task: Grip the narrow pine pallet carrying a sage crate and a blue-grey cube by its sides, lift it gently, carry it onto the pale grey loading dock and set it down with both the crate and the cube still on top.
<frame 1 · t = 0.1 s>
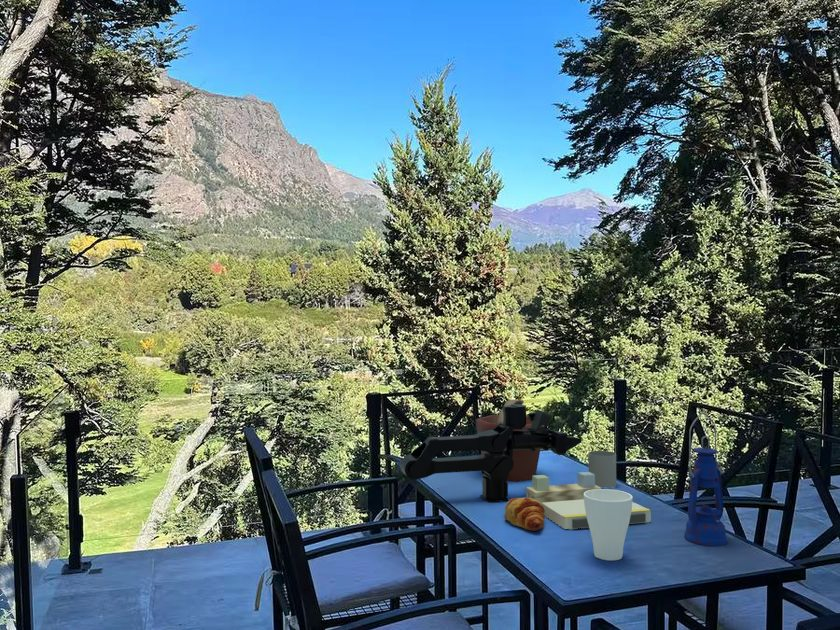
hand: (574, 437, 202), 17 cm above the table, tool horizontal, fingers open, 9 cm apart
dock: (594, 517, 177), on the table
cup: (602, 486, 211), on the table
croissant: (525, 523, 175), on the table
crate sage: (540, 489, 189), point 5 cm above the table
bucket: (513, 476, 224), on the table
lantern: (705, 540, 160), on the table
pallet: (563, 505, 190), on the table
cup 2: (608, 556, 149), on the table
blue-grey cube: (586, 485, 192), point 5 cm above the table
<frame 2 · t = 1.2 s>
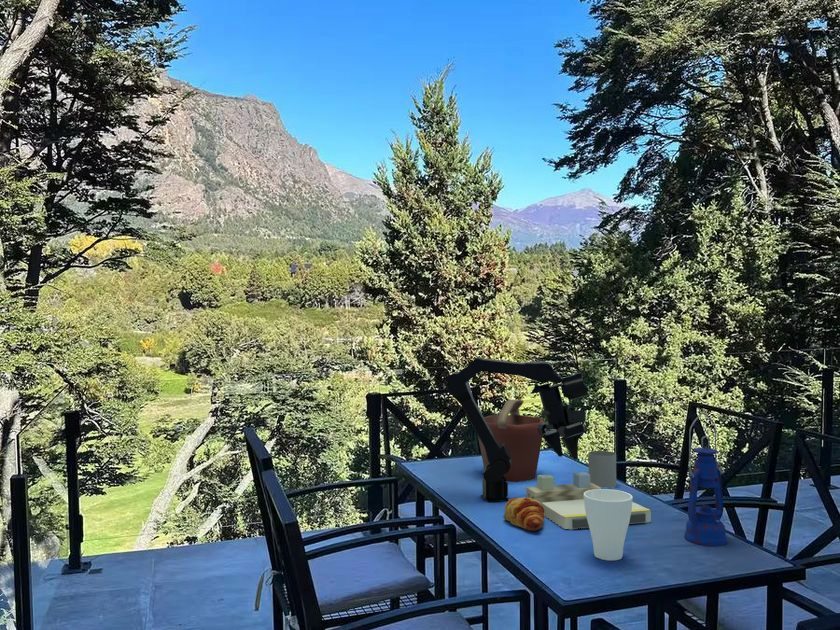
hand: (568, 457, 192), 13 cm above the table, tool tilted 15°, fingers open, 9 cm apart
crate sage: (545, 488, 189), point 5 cm above the table, touching pallet
pallet: (563, 505, 190), on the table, touching blue-grey cube, crate sage
blue-grey cube: (581, 486, 192), point 5 cm above the table, touching pallet
everything else where it was.
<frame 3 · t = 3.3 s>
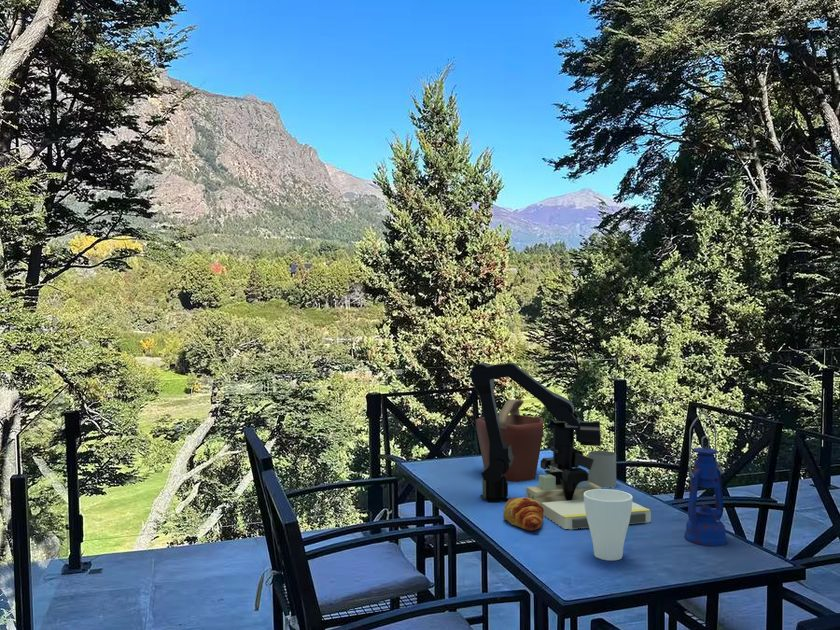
hand: (563, 499, 190), 1 cm above the table, tool pointing down, fingers closed on pallet, 6 cm apart
pallet: (563, 505, 190), on the table, touching blue-grey cube, crate sage, gripper
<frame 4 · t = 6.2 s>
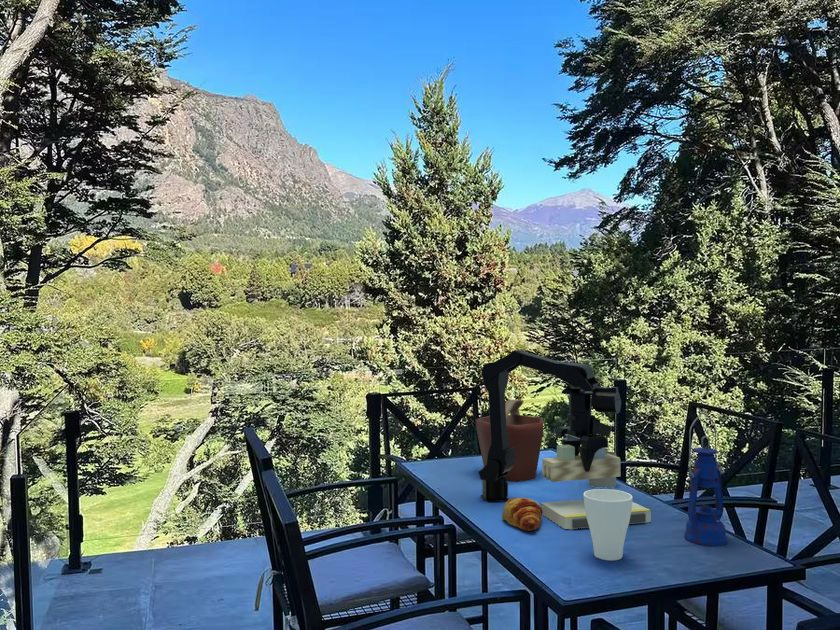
hand: (581, 469, 182), 12 cm above the table, tool pointing down, fingers closed on pallet, 6 cm apart
crate sage: (565, 459, 181), point 15 cm above the table, touching pallet
pallet: (581, 476, 182), point 10 cm above the table, touching blue-grey cube, crate sage, gripper
blue-grey cube: (596, 457, 183), point 15 cm above the table, touching pallet
everything else where it was.
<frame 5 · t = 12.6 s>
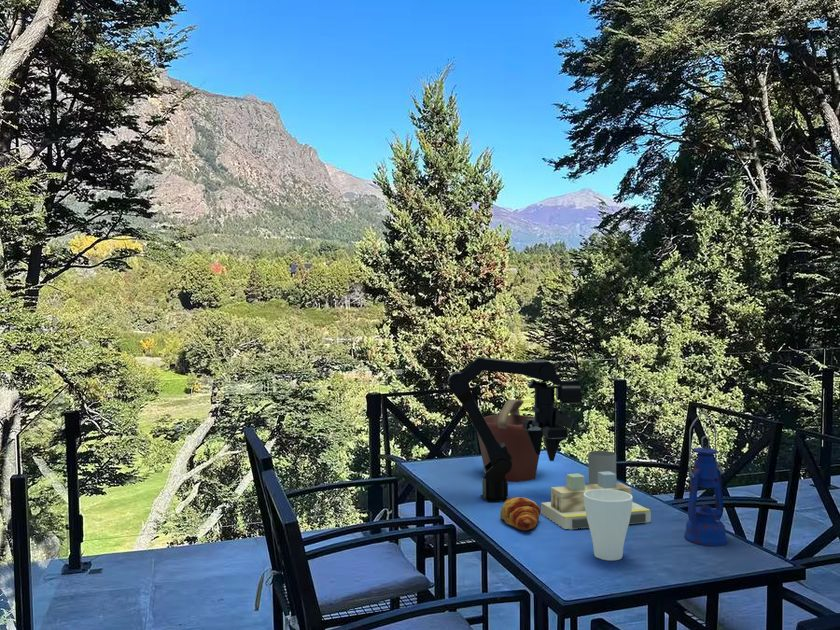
hand: (544, 457, 196), 12 cm above the table, tool pointing down, fingers open, 9 cm apart
crate sage: (575, 488, 176), point 8 cm above the table, touching pallet
pallet: (591, 506, 177), point 3 cm above the table, touching blue-grey cube, crate sage, dock
blue-grey cube: (606, 486, 178), point 8 cm above the table, touching pallet
at the end: pallet inside the target area on the dock (1.0 cm from its centre), point 3.0 cm above the dock's base; crate sage point 8.0 cm above the table; blue-grey cube point 8.0 cm above the table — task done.
